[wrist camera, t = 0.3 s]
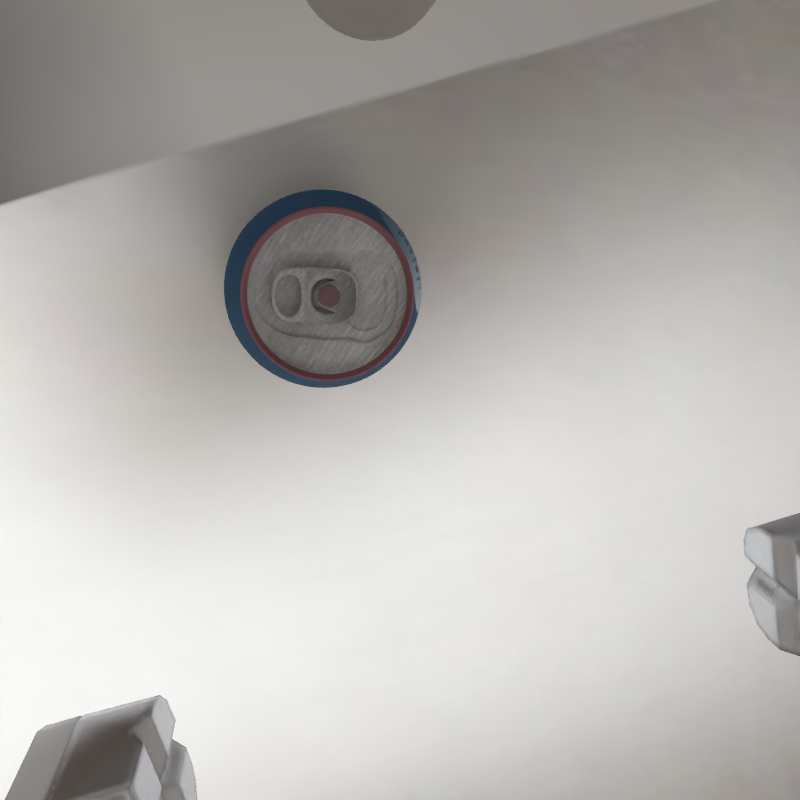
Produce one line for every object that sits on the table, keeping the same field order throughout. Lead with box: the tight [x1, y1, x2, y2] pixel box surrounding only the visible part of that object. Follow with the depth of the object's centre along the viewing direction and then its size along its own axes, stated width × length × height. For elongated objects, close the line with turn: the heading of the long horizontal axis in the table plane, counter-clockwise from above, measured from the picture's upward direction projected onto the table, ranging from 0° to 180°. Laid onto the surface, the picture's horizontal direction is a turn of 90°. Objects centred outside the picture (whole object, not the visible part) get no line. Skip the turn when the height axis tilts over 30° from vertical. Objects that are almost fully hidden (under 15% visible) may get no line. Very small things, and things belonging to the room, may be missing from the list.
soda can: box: [224, 190, 421, 388], centre depth 29 cm, size 7×7×12 cm
